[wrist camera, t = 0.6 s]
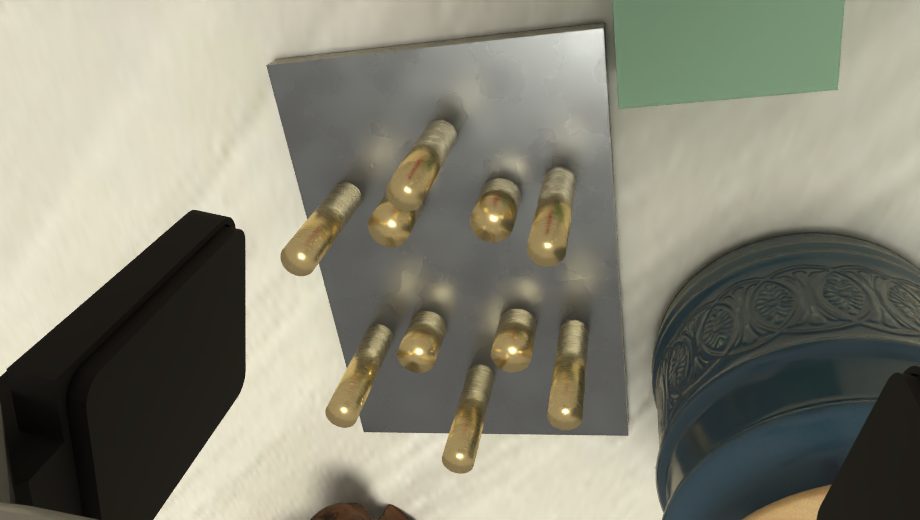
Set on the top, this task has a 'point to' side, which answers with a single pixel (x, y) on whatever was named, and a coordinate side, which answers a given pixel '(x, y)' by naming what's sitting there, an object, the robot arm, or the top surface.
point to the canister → (776, 373)
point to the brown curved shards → (355, 513)
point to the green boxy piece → (724, 49)
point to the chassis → (463, 233)
